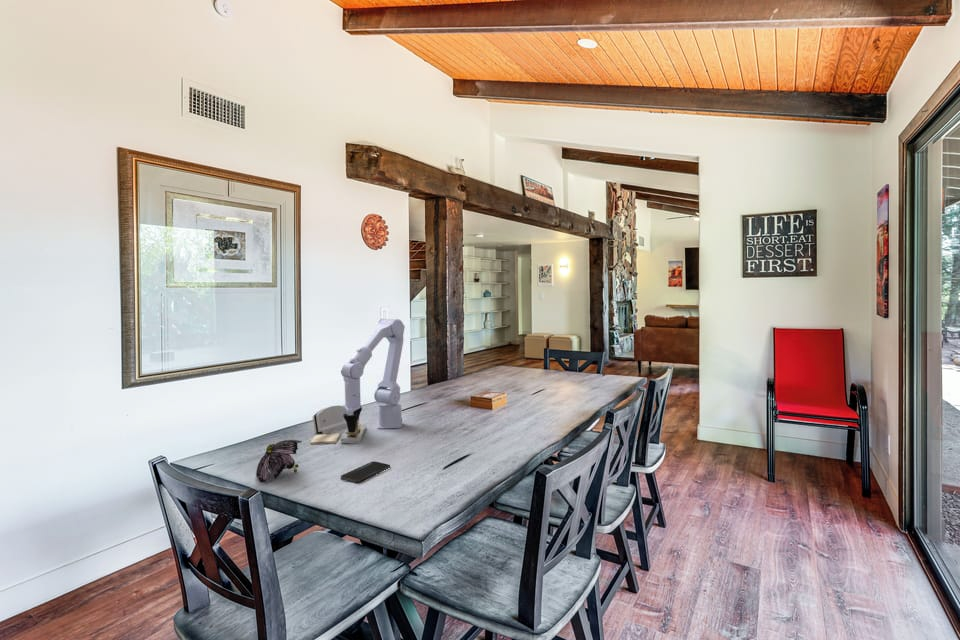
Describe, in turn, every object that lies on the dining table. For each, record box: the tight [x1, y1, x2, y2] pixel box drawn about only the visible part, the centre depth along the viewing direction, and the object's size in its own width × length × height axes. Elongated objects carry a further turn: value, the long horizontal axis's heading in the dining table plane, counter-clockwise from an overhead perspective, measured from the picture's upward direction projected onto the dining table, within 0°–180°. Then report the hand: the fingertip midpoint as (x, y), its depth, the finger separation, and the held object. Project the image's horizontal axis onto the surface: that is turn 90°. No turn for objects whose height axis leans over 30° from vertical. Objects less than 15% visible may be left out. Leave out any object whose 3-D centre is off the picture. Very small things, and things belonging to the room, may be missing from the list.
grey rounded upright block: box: [312, 405, 347, 435], centre depth 201 cm, size 17×5×10 cm, turn 149°
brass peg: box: [346, 418, 360, 434], centre depth 189 cm, size 4×4×6 cm
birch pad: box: [310, 433, 341, 445], centre depth 186 cm, size 9×9×1 cm
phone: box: [340, 461, 391, 484], centre depth 153 cm, size 8×1×15 cm
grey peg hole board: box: [340, 423, 367, 444], centre depth 191 cm, size 7×18×2 cm, turn 6°
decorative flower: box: [255, 439, 303, 483], centre depth 152 cm, size 14×12×15 cm
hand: (353, 429), depth 189 cm, fingers open, 7 cm apart
